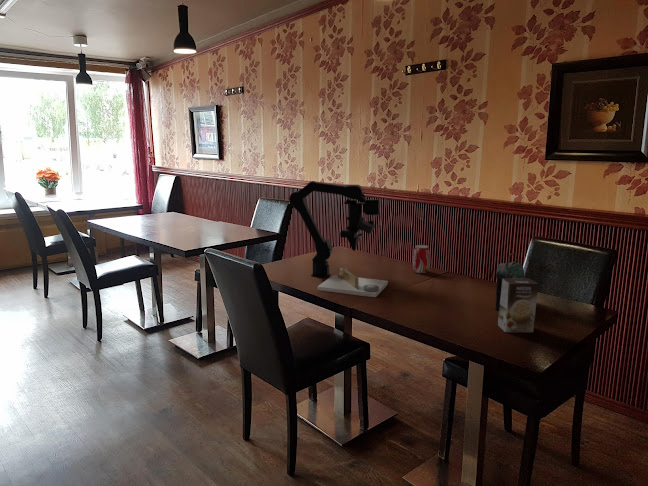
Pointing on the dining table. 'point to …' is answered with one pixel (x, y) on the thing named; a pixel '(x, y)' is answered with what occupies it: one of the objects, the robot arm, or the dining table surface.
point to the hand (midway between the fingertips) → (354, 250)
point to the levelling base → (342, 286)
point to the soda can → (421, 259)
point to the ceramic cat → (507, 276)
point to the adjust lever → (348, 276)
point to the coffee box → (517, 304)
